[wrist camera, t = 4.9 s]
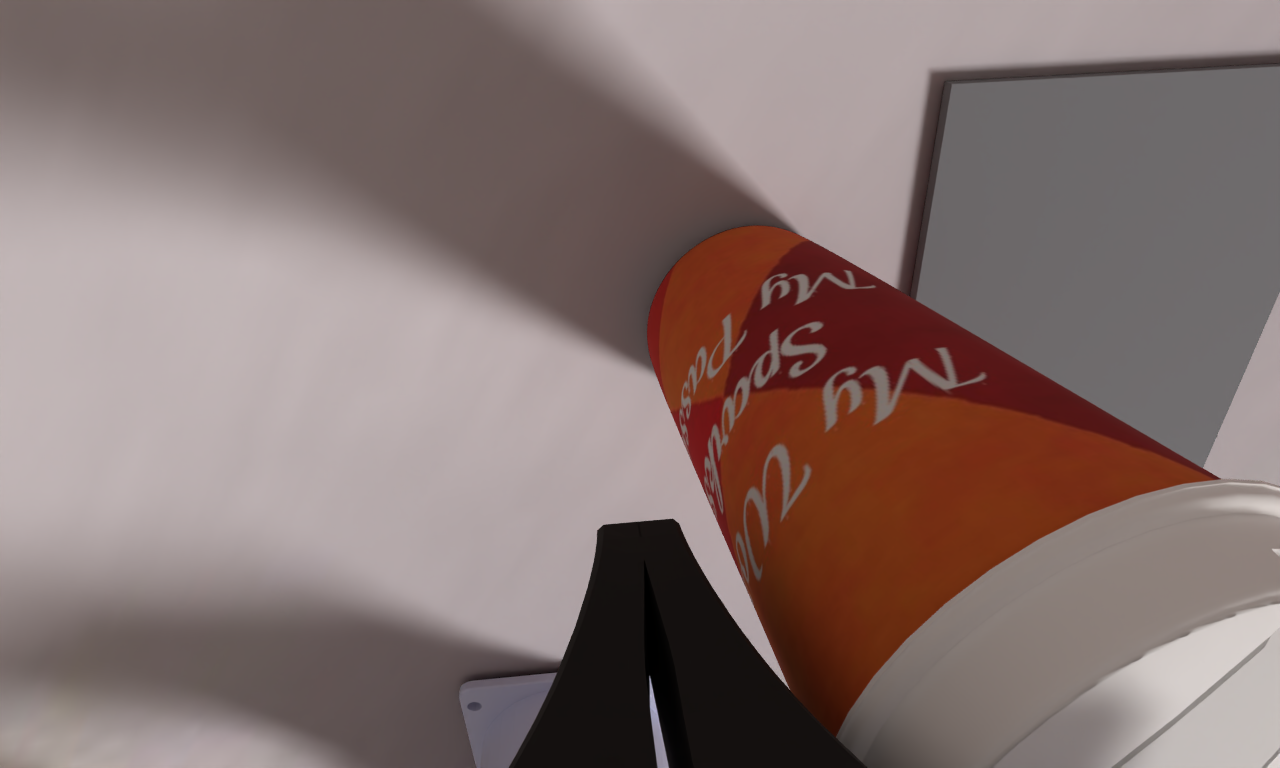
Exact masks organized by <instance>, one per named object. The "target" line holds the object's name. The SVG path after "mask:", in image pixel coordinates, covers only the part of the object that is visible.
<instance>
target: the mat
mask: <svg viewBox="0 0 1280 768" xmlns="http://www.w3.org/2000/svg"><path fill="white" fill-rule="evenodd" d="M1279 292H1280V63H1279V64H1260V65H1242V66H1223V67H1204V68H1186V69H1167V70H1149V71H1130V72H1111V73H1093V74H1074V75H1055V76H1037V77H1018V78H1000V79H981V80H962V81H945V84H944V90H943V96H942V102H941V108H940V115H939V121H938V127H937V133H936V139H935V145H934V151H933V158H932V164H931V170H930V176H929V182H928V188H927V195H926V201H925V207H924V213H923V219H922V225H921V232H920V238H919V244H918V250H917V256H916V262H915V268H914V275H913V281H912V287H911V293H910V297H911V298H913V299H915V300H916V301H918V302H920V303H921V304H923V305H925V306H927V307H928V308H930V309H932V310H933V311H935V312H937V313H939V314H940V315H942V316H944V317H946V318H947V319H949V320H951V321H952V322H954V323H956V324H958V325H959V326H961V327H963V328H964V329H966V330H968V331H969V332H971V333H973V334H975V335H976V336H978V337H980V338H981V339H983V340H985V341H987V342H988V343H990V344H992V345H993V346H995V347H997V348H998V349H1000V350H1002V351H1004V352H1005V353H1007V354H1009V355H1010V356H1012V357H1014V358H1015V359H1017V360H1019V361H1021V362H1022V363H1024V364H1026V365H1027V366H1029V367H1031V368H1033V369H1034V370H1036V371H1038V372H1039V373H1041V374H1043V375H1044V376H1046V377H1048V378H1050V379H1051V380H1053V381H1055V382H1056V383H1058V384H1060V385H1061V386H1063V387H1065V388H1067V389H1068V390H1070V391H1072V392H1073V393H1075V394H1077V395H1079V396H1080V397H1082V398H1084V399H1085V400H1087V401H1089V402H1090V403H1092V404H1094V405H1096V406H1097V407H1099V408H1101V409H1102V410H1104V411H1106V412H1108V413H1109V414H1111V415H1113V416H1114V417H1116V418H1118V419H1119V420H1121V421H1123V422H1125V423H1126V424H1128V425H1130V426H1131V427H1133V428H1135V429H1137V430H1138V431H1140V432H1142V433H1143V434H1145V435H1147V436H1148V437H1150V438H1152V439H1154V440H1155V441H1157V442H1159V443H1160V444H1162V445H1164V446H1166V447H1167V448H1169V449H1171V450H1172V451H1174V452H1176V453H1178V454H1179V455H1181V456H1183V457H1184V458H1186V459H1188V460H1189V461H1191V462H1193V463H1195V464H1196V465H1198V466H1200V467H1201V468H1203V466H1204V464H1205V462H1206V459H1207V457H1208V455H1209V453H1210V450H1211V448H1212V446H1213V443H1214V441H1215V439H1216V437H1217V434H1218V432H1219V430H1220V427H1221V425H1222V423H1223V420H1224V418H1225V416H1226V414H1227V411H1228V409H1229V407H1230V404H1231V402H1232V400H1233V398H1234V395H1235V393H1236V391H1237V388H1238V386H1239V384H1240V381H1241V379H1242V377H1243V375H1244V372H1245V370H1246V368H1247V365H1248V363H1249V361H1250V359H1251V356H1252V354H1253V352H1254V349H1255V347H1256V345H1257V343H1258V340H1259V338H1260V336H1261V333H1262V331H1263V329H1264V326H1265V324H1266V322H1267V320H1268V317H1269V315H1270V313H1271V310H1272V308H1273V306H1274V304H1275V301H1276V299H1277V297H1278V294H1279Z"/></svg>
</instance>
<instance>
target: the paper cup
mask: <svg viewBox="0 0 1280 768" xmlns="http://www.w3.org/2000/svg"><path fill="white" fill-rule="evenodd" d="M647 341H648V348H649V353H650V358H651V361H652V364H653V367H654V370H655V373H656V376H657V379H658V381H659V384H660V386H661V389H662V392H663V394H664V397H665V399H666V402H667V404H668V406H669V409H670V411H671V414H672V416H673V418H674V421H675V423H676V425H677V428H678V430H679V433H680V435H681V437H682V440H683V442H684V445H685V447H686V449H687V452H688V454H689V456H690V459H691V461H692V463H693V466H694V468H695V470H696V473H697V475H698V478H699V480H700V482H701V485H702V487H703V489H704V492H705V494H706V496H707V499H708V501H709V503H710V506H711V508H712V510H713V513H714V515H715V517H716V520H717V522H718V524H719V527H720V529H721V531H722V534H723V536H724V538H725V541H726V543H727V545H728V547H729V550H730V552H731V554H732V557H733V559H734V561H735V564H736V566H737V568H738V571H739V573H740V575H741V578H742V580H743V582H744V585H745V587H746V589H747V591H748V594H749V596H750V598H751V601H752V603H753V605H754V608H755V610H756V612H757V615H758V617H759V619H760V622H761V624H762V626H763V629H764V631H765V633H766V635H767V638H768V640H769V642H770V645H771V647H772V649H773V652H774V654H775V656H776V659H777V661H778V663H779V666H780V668H781V670H782V673H783V675H784V677H785V680H786V682H787V684H788V686H789V689H790V691H791V692H792V693H793V694H794V695H795V697H796V698H797V699H798V700H799V701H800V702H801V703H802V704H803V705H804V706H805V707H806V708H807V709H808V710H809V711H810V712H811V714H812V715H813V716H814V717H815V718H816V719H817V720H818V721H819V722H820V723H821V724H822V725H823V726H824V727H825V728H826V729H827V730H828V731H829V732H831V733H832V734H833V735H834V736H835V737H836V738H837V739H838V740H839V741H840V742H841V743H842V744H843V745H844V746H845V747H846V748H847V749H848V750H850V751H851V752H852V753H853V754H854V755H855V756H856V757H857V758H858V759H859V760H860V761H861V762H862V763H863V764H864V765H865V766H866V767H867V768H1280V486H1277V485H1274V484H1270V483H1267V482H1263V481H1254V480H1236V479H1220V478H1218V477H1217V476H1215V475H1213V474H1212V473H1210V472H1208V471H1207V470H1205V469H1203V468H1201V467H1200V466H1198V465H1196V464H1195V463H1193V462H1191V461H1189V460H1188V459H1186V458H1184V457H1183V456H1181V455H1179V454H1178V453H1176V452H1174V451H1172V450H1171V449H1169V448H1167V447H1166V446H1164V445H1162V444H1160V443H1159V442H1157V441H1155V440H1154V439H1152V438H1150V437H1148V436H1147V435H1145V434H1143V433H1142V432H1140V431H1138V430H1137V429H1135V428H1133V427H1131V426H1130V425H1128V424H1126V423H1125V422H1123V421H1121V420H1119V419H1118V418H1116V417H1114V416H1113V415H1111V414H1109V413H1108V412H1106V411H1104V410H1102V409H1101V408H1099V407H1097V406H1096V405H1094V404H1092V403H1090V402H1089V401H1087V400H1085V399H1084V398H1082V397H1080V396H1079V395H1077V394H1075V393H1073V392H1072V391H1070V390H1068V389H1067V388H1065V387H1063V386H1061V385H1060V384H1058V383H1056V382H1055V381H1053V380H1051V379H1050V378H1048V377H1046V376H1044V375H1043V374H1041V373H1039V372H1038V371H1036V370H1034V369H1033V368H1031V367H1029V366H1027V365H1026V364H1024V363H1022V362H1021V361H1019V360H1017V359H1015V358H1014V357H1012V356H1010V355H1009V354H1007V353H1005V352H1004V351H1002V350H1000V349H998V348H997V347H995V346H993V345H992V344H990V343H988V342H987V341H985V340H983V339H981V338H980V337H978V336H976V335H975V334H973V333H971V332H969V331H968V330H966V329H964V328H963V327H961V326H959V325H958V324H956V323H954V322H952V321H951V320H949V319H947V318H946V317H944V316H942V315H940V314H939V313H937V312H935V311H933V310H932V309H930V308H928V307H927V306H925V305H923V304H921V303H920V302H918V301H916V300H915V299H913V298H911V297H909V296H908V295H906V294H904V293H903V292H901V291H899V290H897V289H896V288H894V287H892V286H890V285H889V284H887V283H885V282H884V281H882V280H880V279H878V278H877V277H875V276H873V275H871V274H870V273H868V272H866V271H864V270H863V269H861V268H859V267H857V266H856V265H854V264H852V263H850V262H849V261H847V260H845V259H843V258H842V257H840V256H838V255H836V254H834V253H832V252H831V251H829V250H827V249H825V248H823V247H821V246H819V245H818V244H816V243H814V242H812V241H810V240H808V239H806V238H804V237H802V236H800V235H798V234H795V233H793V232H790V231H787V230H784V229H780V228H776V227H771V226H759V225H756V226H744V227H738V228H733V229H730V230H726V231H724V232H721V233H718V234H716V235H714V236H712V237H710V238H708V239H706V240H704V241H702V242H701V243H699V244H698V245H696V246H695V247H694V248H692V249H691V250H690V251H688V252H687V253H686V254H685V255H684V256H683V257H682V258H681V259H680V260H679V261H678V262H677V263H676V264H675V265H674V266H673V267H672V268H671V270H670V271H669V272H668V274H667V275H666V276H665V278H664V279H663V281H662V283H661V284H660V286H659V288H658V290H657V292H656V294H655V297H654V299H653V302H652V305H651V308H650V312H649V317H648V324H647Z"/></svg>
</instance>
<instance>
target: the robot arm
mask: <svg viewBox="0 0 1280 768" xmlns="http://www.w3.org/2000/svg"><path fill="white" fill-rule="evenodd" d="M459 700H460V704H461V708H462V713H463V717H464V721H465V725H466V729H467V733H468V737H469V741H470V745H471V749H472V753H473V757H474V761H475V765H476V768H867V767H866V766H865V765H864V764H863V763H862V762H861V761H860V760H859V759H858V758H857V757H856V756H855V755H854V754H853V753H852V752H851V751H850V750H848V749H847V748H846V747H845V746H844V745H843V744H842V743H841V742H840V741H839V740H838V739H837V738H836V737H835V736H834V735H833V734H832V733H831V732H829V731H828V730H827V729H826V728H825V727H824V726H823V725H822V724H821V723H820V722H819V721H818V720H817V719H816V718H815V717H814V716H813V715H812V714H811V712H810V711H809V710H808V709H807V708H806V707H805V706H804V705H803V704H802V703H801V702H800V701H799V700H798V699H797V698H796V697H795V695H794V694H793V693H792V692H791V691H790V690H789V689H788V687H787V686H786V685H785V684H784V683H783V682H782V681H781V680H780V678H779V677H778V676H777V675H776V674H775V673H774V671H773V670H772V669H771V668H770V667H769V665H768V664H767V663H766V662H765V660H764V659H763V658H762V657H761V655H760V654H759V653H758V652H757V650H756V649H755V648H754V646H753V645H752V644H751V642H750V641H749V640H748V638H747V637H746V636H745V634H744V633H743V632H742V631H741V629H740V628H739V626H738V625H737V623H736V622H735V621H734V619H733V618H732V616H731V615H730V614H729V612H728V610H727V609H726V607H725V606H724V604H723V603H722V601H721V600H720V598H719V597H718V595H717V594H716V592H715V591H714V589H713V588H712V586H711V585H710V583H709V581H708V580H707V578H706V576H705V575H704V573H703V571H702V569H701V568H700V566H699V564H698V562H697V561H696V559H695V557H694V555H693V553H692V551H691V549H690V547H689V545H688V543H687V541H686V539H685V537H684V535H683V532H682V530H681V527H680V525H679V523H678V522H676V521H675V520H674V519H664V520H653V521H642V522H630V523H619V524H608V525H603V526H602V527H601V528H600V529H599V530H597V545H596V552H595V558H594V563H593V568H592V572H591V576H590V580H589V584H588V588H587V591H586V594H585V598H584V601H583V604H582V607H581V610H580V614H579V617H578V620H577V623H576V626H575V629H574V631H573V634H572V636H571V639H570V642H569V644H568V647H567V649H566V652H565V654H564V657H563V660H562V662H561V665H560V667H559V669H558V672H557V673H546V674H536V675H526V676H515V677H505V678H495V679H485V680H474V681H469V682H466V683H464V684H462V686H461V687H460V692H459Z"/></svg>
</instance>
